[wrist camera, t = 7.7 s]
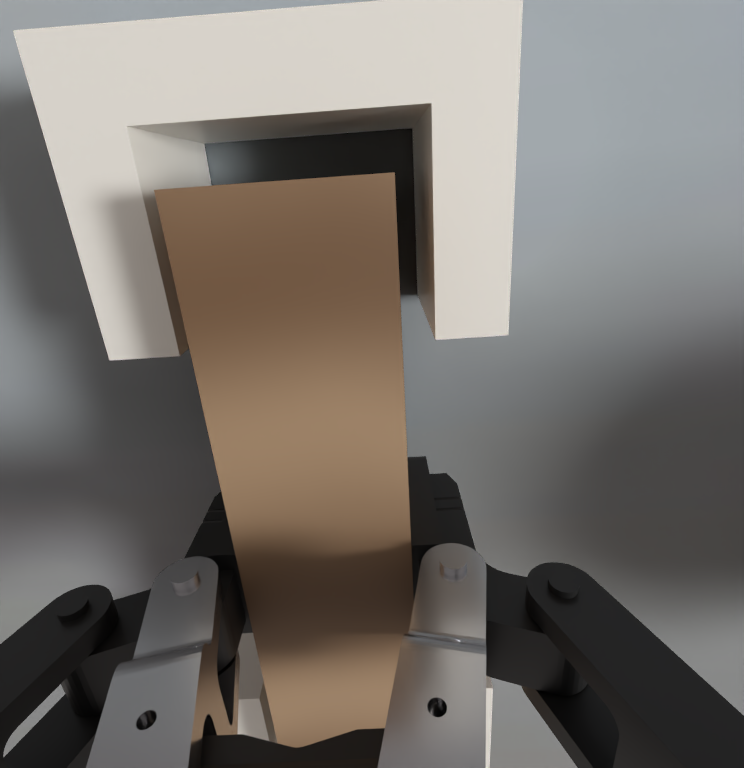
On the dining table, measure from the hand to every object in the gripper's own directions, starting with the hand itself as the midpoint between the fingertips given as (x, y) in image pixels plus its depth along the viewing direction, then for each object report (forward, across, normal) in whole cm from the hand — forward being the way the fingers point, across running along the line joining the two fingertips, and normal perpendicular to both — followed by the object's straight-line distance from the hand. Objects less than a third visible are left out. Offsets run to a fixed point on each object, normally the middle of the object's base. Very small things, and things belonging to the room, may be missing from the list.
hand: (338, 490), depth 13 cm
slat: (0, 0, 0) cm, 0 cm away
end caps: (+2, 0, 0) cm, 2 cm away
